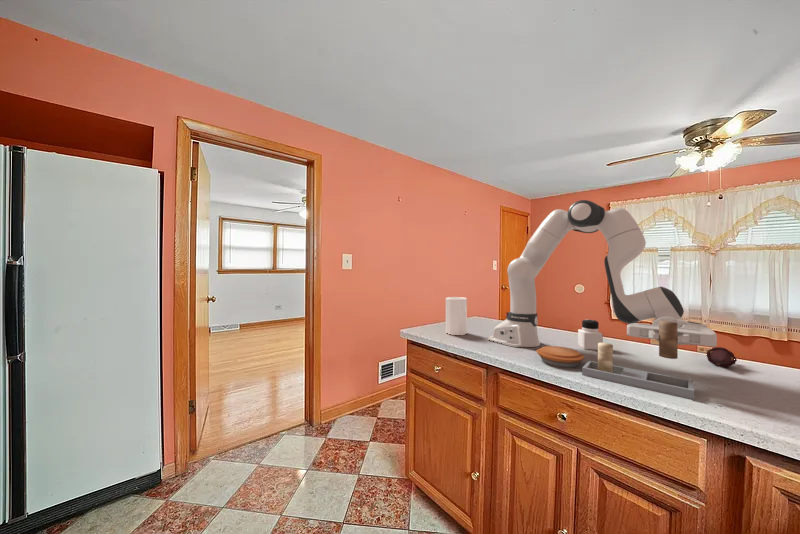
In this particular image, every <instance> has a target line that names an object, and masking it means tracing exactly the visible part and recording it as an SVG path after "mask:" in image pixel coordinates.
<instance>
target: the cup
mask: <svg viewBox="0 0 800 534" xmlns="http://www.w3.org/2000/svg"><path fill="white" fill-rule="evenodd" d="M467 309H468V298H467V297H462V296H459V297H458V296H447V297H445V334H446V333H448V334H447V335H449V334H451V335H450V336H455V335H461V336H466V335H467V332H468V331H467V330H468V327H467V326H468V325H467V324H468V323H467V321H468V318H467V317H468V316H467V315H468V310H467ZM465 334H466V335H465Z"/></svg>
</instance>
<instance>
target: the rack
mask: <svg viewBox="0 0 800 534" xmlns="http://www.w3.org/2000/svg"><path fill="white" fill-rule="evenodd" d="M581 375H582V376H585V377H589V378H595V379H599V380H602V381H603V380H604V381H606V382H607V381H609V382H611V383H617V384H621V385H627V386H631V387H635V388H639V389H645V390H648V391H653V392H658V393H662V394H667V395H672V396H676V397H680V398H685V399H688V400H689V399H690V400H692V401H695V387H694V381H693V380H692V379H688V378H682V377H677V376H673V375H667V374H661V373H656V372H651V371H645V370H641V369H636V368H631V367H630V368H629V367H625V366H619V365H614V364H613V373H610V372H605V371H600V370H598V361H592V360H587V362H586V363H585V364H584V365H583V366H582V367H581Z"/></svg>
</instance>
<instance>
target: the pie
mask: <svg viewBox="0 0 800 534" xmlns="http://www.w3.org/2000/svg"><path fill="white" fill-rule="evenodd" d="M535 352H536V354H537V355H539V357H540V358H541V361H542V362H543V363H545V364H547V365H550V366H554V367H558V368H568V369H569V368H576V367H578V365H580V363H581V362H582V361H583V360H584V359H585V356H584V355H583V354H582V353H580V352H579V351H578V350H576V349H572V348H570V347H569V348H568V347H564V346H557V345H547V346H542V347H541V348H538V349H536V351H535Z"/></svg>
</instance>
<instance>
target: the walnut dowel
mask: <svg viewBox="0 0 800 534" xmlns="http://www.w3.org/2000/svg"><path fill="white" fill-rule="evenodd" d="M677 336H678V334H677V323H676V322H669V321H659V341H658V356H659V357H661V358H664V359H669V360H677V359H678V355H679V353H678V346H679V345H678V342H677V340H678V339H677Z"/></svg>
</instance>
